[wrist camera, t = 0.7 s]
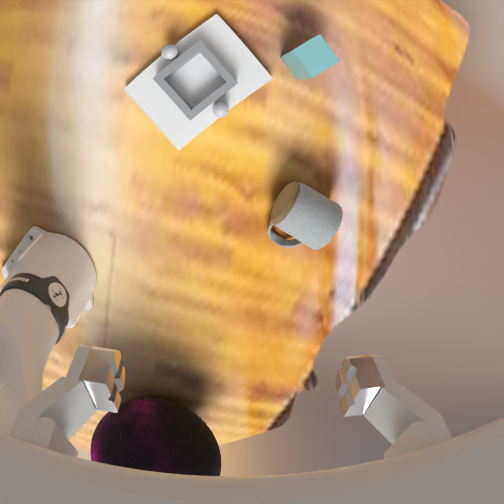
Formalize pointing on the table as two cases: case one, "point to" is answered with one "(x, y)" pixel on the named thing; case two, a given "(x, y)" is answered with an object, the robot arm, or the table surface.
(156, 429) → the black purple ball
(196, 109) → the housing plate
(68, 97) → the table surface
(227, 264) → the table surface
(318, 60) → the block
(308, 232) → the ceramic mug
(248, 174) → the table surface
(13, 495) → the robot arm
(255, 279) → the table surface
